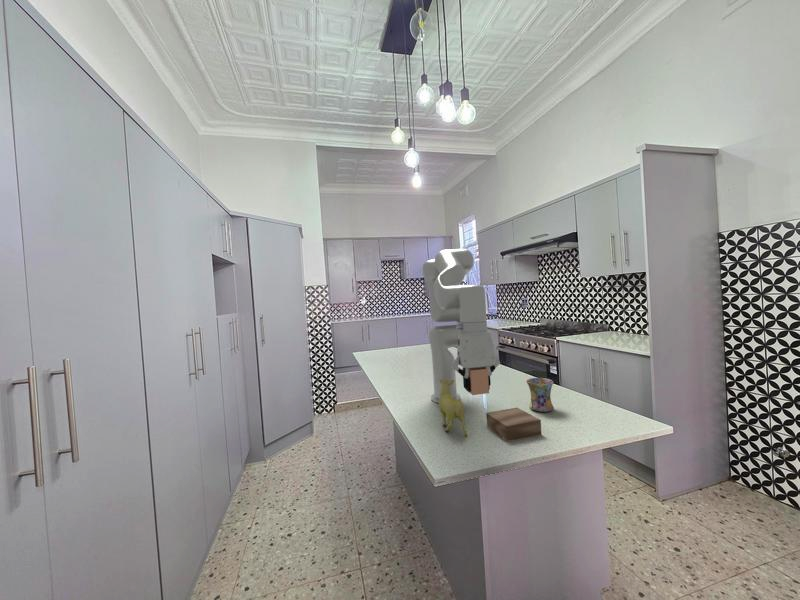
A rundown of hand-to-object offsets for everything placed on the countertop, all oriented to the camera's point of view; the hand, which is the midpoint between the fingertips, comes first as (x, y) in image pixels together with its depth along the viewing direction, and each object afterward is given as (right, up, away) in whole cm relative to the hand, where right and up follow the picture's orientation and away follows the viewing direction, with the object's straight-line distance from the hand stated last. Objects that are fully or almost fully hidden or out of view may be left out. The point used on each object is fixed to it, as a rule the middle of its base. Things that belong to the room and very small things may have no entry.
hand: (477, 388), depth 95 cm
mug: (+30, -15, +28) cm, 44 cm away
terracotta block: (0, -1, 0) cm, 1 cm away
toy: (-5, -18, +16) cm, 24 cm away
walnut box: (+14, -17, +10) cm, 24 cm away
